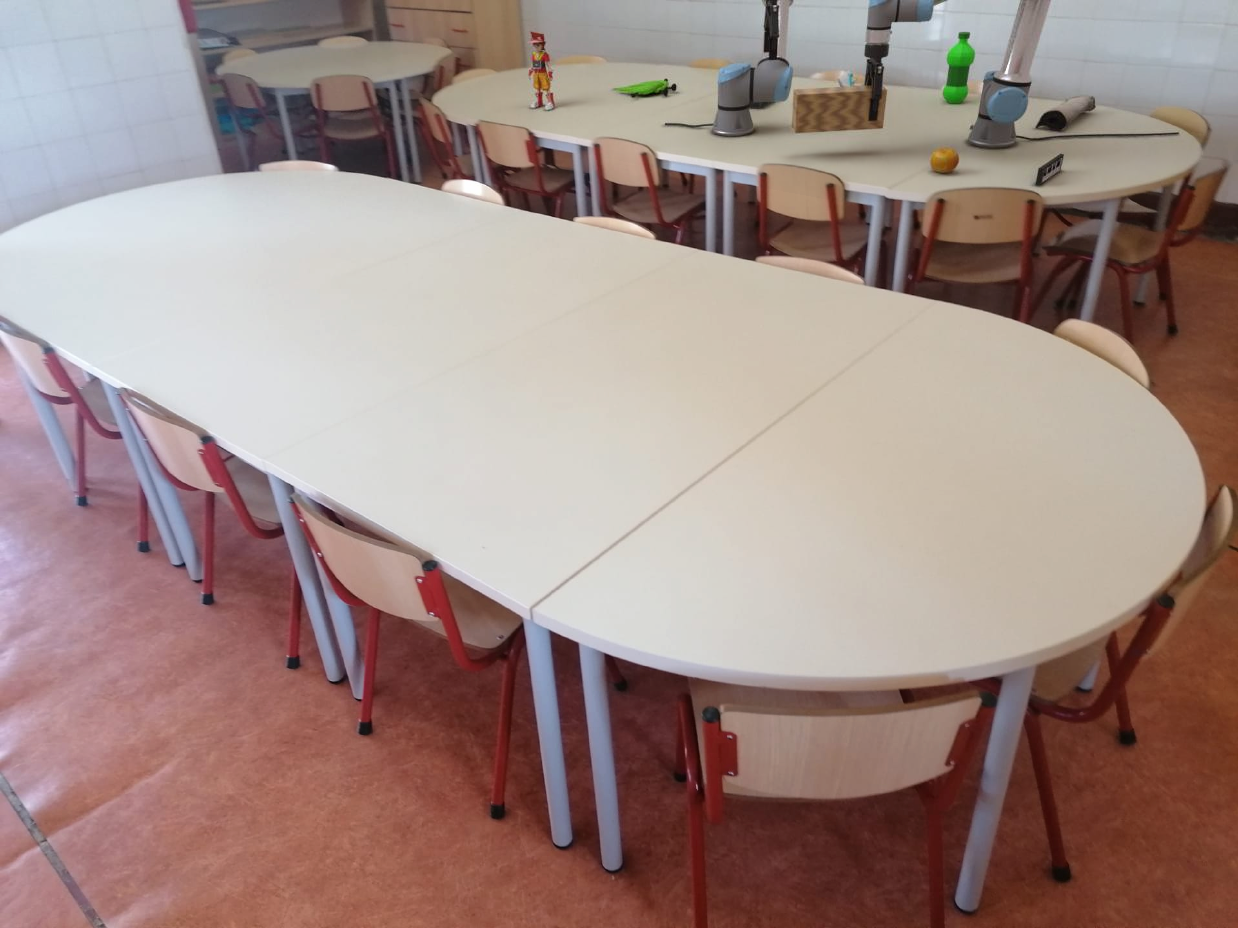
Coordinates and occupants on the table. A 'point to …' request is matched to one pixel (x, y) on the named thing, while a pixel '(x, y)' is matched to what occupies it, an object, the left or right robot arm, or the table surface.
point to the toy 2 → (648, 88)
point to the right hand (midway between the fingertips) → (869, 117)
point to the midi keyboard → (1049, 169)
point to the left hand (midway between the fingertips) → (770, 56)
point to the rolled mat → (1066, 112)
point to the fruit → (944, 160)
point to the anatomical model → (847, 80)
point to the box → (835, 109)
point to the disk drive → (758, 104)
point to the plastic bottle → (958, 69)
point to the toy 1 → (541, 71)
